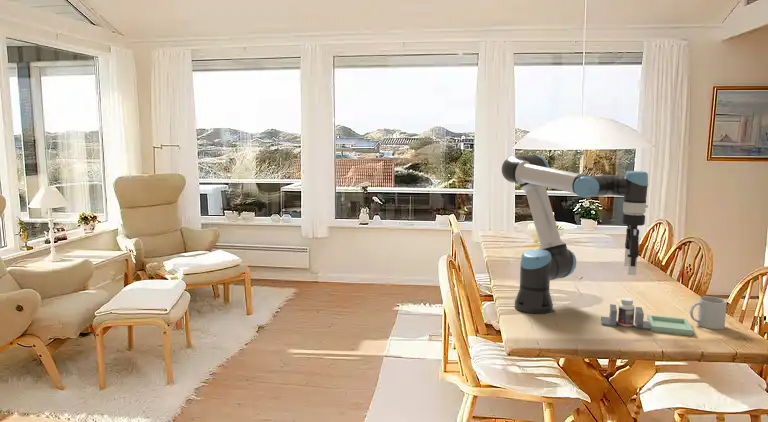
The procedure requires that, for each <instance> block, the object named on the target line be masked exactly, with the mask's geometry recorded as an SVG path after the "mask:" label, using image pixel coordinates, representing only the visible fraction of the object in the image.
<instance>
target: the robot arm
mask: <svg viewBox="0 0 768 422" xmlns="http://www.w3.org/2000/svg"><path fill="white" fill-rule="evenodd" d="M549 165H550V164H549V163H548V161H547V159H546V158H545V157H543V156H541V155H538V154H520V155H518V154H515V155H510V156H509V157H507V158H506V159H505V160H504V161H503V163H502V165H501V174H502V176H503V178H504V179H505V180H507V182H510V183H512V184H513V183H515V184H518V185H519V187H520V189H521V190H522V191H523V192H525V196H526V200H527V201H528V207H529V209H530V213H531V216H532V221H533V223H534V227H535V231H536V234H537V238H538V241H539V245H540V246H539V247H538V249H537V248H536V249H528V250H526V251H524V252H522V254H521V256H520V262H519V264H520V268H519V271H520V272H519V289H518V292H517V294H516V297H515V300H514V308H515V310H516V309H517V311H521V312H524V313H527V314H534V315H535V314H538V315H539V314H548V313H551V312H552V311H553V309H554V302H553V298H552V296H551V292H550V282H551V281H555V280H558V279H564V278H566V277H568V276H571V275H572V274H573V273H574V271H575V270H576V268H577V257H576V255H575V253H574V252H573V251H571V250H570V249H568V247H567V243H566V242H564V241H562V240H561V237H560V233H559V229H558V226H557V222H556V219H555V215H554V211H553V208H552V205H551V201H550V197H549V194H548V192H547V188H548V189H549V188H550V189H552V190H556V191H557V190H558V191H561V192H562V191H563V192H568V193H572V194H576V195H577V196H578V197H580V198H589V199H591V198H596V197H603V196H604V197H605V196H617V197H619V196H620V197H623V205H622V212H623V214H622V219H621V220H622V224H623V225H626V235H625V243H624V246H625V247H624V248H625V249H624V260H623V261H624V262H623V263H624V264H623V266H624V267H627V275H628V276H637V267H638V257H639V255H640V254H639V239H640V238H639V236H640V230H639V228H638V226H641V227H642V226H644V225H645V224H646V215H645V214H646V209H647V208H648V207H649V205H647V197H648V195H647V194H648V186H649V173H648V172H646V171H644V170H643V171H642V170H641V171H640V170H639V171H637V170H627V171H626V173H625V174H624V175H614V174H607V173H606V174H605V173H604V174H602V173H601V174H597V175H587V174H582V173H577V172H571V171H568V170H561V169H556V168H551V167H550V166H549Z"/></svg>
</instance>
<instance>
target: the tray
mask: <svg viewBox="0 0 768 422" xmlns="http://www.w3.org/2000/svg"><path fill="white" fill-rule="evenodd" d="M646 316H647V318H646V321H648V322H649V324H650V326H651V332H656V333H663V334H672V335H673V334H674V335H682V336H688V337H689V336H691V337H694V329H693V327H692V326H691V324H690V322H689V320H688V318H683V317H676V316H675V317H674V316H673V317H672V316H664V315H655V314H647V315H646Z"/></svg>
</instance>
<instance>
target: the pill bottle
mask: <svg viewBox="0 0 768 422" xmlns="http://www.w3.org/2000/svg"><path fill="white" fill-rule="evenodd" d="M633 304H634V299H633V298H630V297H622V298H621V301H620V303H619V304H618V312H617V324H618V325H620V326H622V327H633V326H634V324H635V310H636V306H634V305H633Z"/></svg>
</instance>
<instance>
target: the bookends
mask: <svg viewBox="0 0 768 422" xmlns="http://www.w3.org/2000/svg"><path fill="white" fill-rule="evenodd" d="M644 317H645V313H644V311H643V308H642V307H640V306H635V310H634V326H635V327H636V330H643V331H651V326H650V324H649V322H648V321H647V320H644V319H645V318H644ZM617 321H618V309H617V304H612V303H611V304H610V305H609V316H600V323H601V326H605V327H607V326H608V327H615V328H616V327H617ZM651 332H652V331H651Z"/></svg>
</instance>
